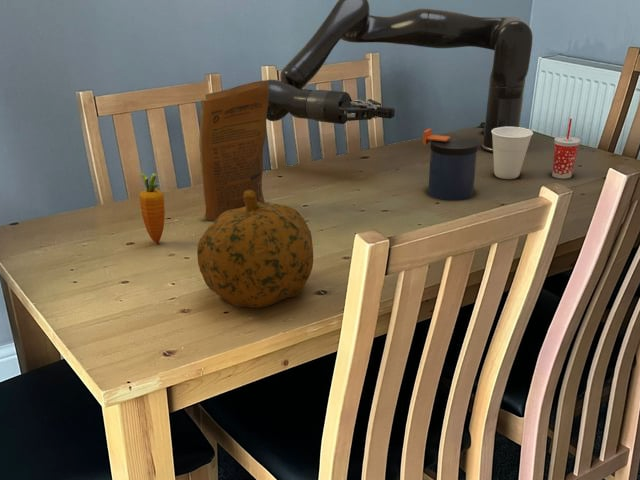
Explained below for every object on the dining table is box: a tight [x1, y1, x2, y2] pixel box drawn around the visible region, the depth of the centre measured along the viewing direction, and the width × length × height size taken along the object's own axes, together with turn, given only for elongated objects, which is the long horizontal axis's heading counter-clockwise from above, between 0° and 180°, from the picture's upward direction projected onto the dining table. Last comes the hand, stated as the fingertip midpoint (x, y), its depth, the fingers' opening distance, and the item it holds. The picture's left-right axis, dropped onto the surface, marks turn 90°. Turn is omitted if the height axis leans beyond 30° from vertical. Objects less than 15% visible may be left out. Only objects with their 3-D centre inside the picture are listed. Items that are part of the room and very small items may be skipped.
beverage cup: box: [551, 118, 581, 180], centre depth 195 cm, size 6×6×14 cm
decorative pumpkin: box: [196, 190, 314, 309], centre depth 139 cm, size 20×21×20 cm
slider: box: [422, 128, 451, 146], centre depth 185 cm, size 6×3×3 cm, turn 59°
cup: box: [491, 126, 534, 180], centre depth 196 cm, size 10×10×11 cm
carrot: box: [139, 173, 166, 245], centre depth 162 cm, size 5×5×15 cm
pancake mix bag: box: [198, 79, 269, 221], centre depth 173 cm, size 7×19×28 cm, turn 127°
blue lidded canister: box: [427, 135, 480, 201], centre depth 186 cm, size 11×11×12 cm
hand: (393, 113), depth 188 cm, fingers closed
